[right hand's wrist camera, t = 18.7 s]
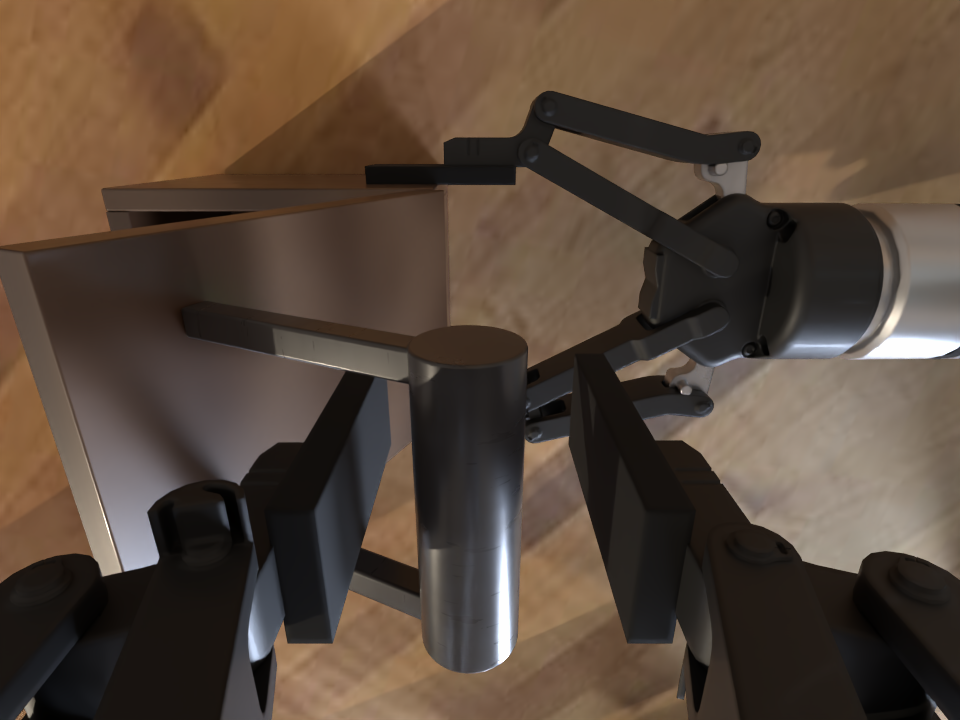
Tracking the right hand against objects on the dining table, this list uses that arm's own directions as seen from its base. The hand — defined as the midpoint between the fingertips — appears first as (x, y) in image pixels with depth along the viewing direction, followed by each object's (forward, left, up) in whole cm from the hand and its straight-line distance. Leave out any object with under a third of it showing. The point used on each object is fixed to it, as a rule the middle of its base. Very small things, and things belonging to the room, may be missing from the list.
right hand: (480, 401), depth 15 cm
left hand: (+2, +4, -13) cm, 14 cm away
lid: (+3, +5, -3) cm, 6 cm away
